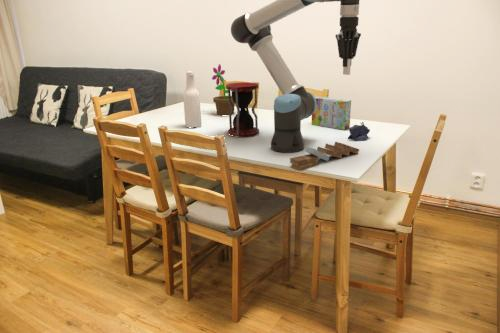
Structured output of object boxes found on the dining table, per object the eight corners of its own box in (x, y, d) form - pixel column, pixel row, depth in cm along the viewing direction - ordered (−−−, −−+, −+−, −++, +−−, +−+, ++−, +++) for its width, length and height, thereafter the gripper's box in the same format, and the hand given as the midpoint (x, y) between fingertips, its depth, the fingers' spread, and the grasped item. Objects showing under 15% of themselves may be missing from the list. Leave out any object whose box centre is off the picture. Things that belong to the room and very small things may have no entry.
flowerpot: (223, 111, 282) (221, 63, 272) (241, 113, 274) (240, 63, 264) (209, 115, 271) (206, 65, 261) (227, 117, 263) (224, 66, 253)
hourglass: (222, 136, 223) (220, 86, 214) (235, 128, 237) (233, 81, 229) (252, 138, 217) (251, 87, 209) (263, 130, 231) (262, 82, 223)
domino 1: (321, 153, 184) (306, 146, 177) (329, 156, 180) (314, 149, 173) (319, 158, 184) (304, 150, 177) (327, 161, 180) (312, 153, 173)
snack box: (350, 128, 230) (351, 99, 225) (344, 130, 226) (345, 101, 221) (316, 122, 244) (317, 95, 239) (310, 124, 240) (311, 97, 235)
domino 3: (318, 166, 176) (301, 172, 170) (308, 163, 180) (291, 169, 174) (318, 161, 176) (301, 167, 169) (309, 159, 179) (291, 164, 173)
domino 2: (318, 161, 175) (297, 166, 171) (310, 158, 180) (290, 162, 175) (318, 156, 175) (297, 161, 170) (310, 153, 179) (290, 158, 175)
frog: (374, 138, 211) (375, 122, 208) (357, 142, 204) (358, 126, 202) (358, 134, 218) (359, 119, 216) (341, 138, 212) (342, 122, 210)
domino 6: (357, 153, 188) (342, 148, 182) (349, 151, 192) (333, 146, 186) (359, 149, 188) (343, 144, 182) (350, 147, 192) (335, 141, 186)
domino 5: (348, 155, 185) (333, 150, 179) (339, 153, 189) (324, 148, 183) (350, 151, 185) (334, 146, 179) (341, 148, 189) (326, 143, 183)
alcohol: (188, 124, 249) (184, 70, 239) (203, 124, 247) (200, 70, 237) (183, 128, 241) (178, 72, 231) (198, 128, 239) (194, 72, 229)
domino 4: (341, 158, 183) (325, 154, 177) (332, 155, 187) (316, 151, 181) (342, 153, 183) (326, 149, 177) (333, 151, 187) (318, 146, 181)
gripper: (344, 16, 175) (342, 76, 183) (367, 15, 182) (363, 73, 190) (331, 16, 181) (329, 75, 188) (353, 16, 188) (350, 72, 195)
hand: (346, 74), depth 189 cm, fingers closed
